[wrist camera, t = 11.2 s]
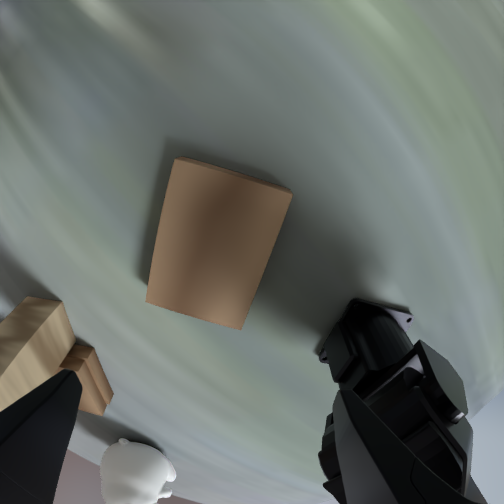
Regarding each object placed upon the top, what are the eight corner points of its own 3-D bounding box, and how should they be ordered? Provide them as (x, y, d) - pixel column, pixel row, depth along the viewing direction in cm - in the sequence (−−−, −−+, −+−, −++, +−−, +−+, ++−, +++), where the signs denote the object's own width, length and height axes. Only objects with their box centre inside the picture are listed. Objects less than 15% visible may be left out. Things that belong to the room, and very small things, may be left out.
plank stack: (94, 347, 23) (80, 370, 20) (114, 395, 26) (105, 416, 23) (-9, 322, 23) (-23, 336, 20) (13, 365, 26) (2, 380, 23)
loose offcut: (289, 189, 18) (293, 194, 16) (241, 317, 21) (241, 330, 20) (181, 156, 17) (174, 158, 15) (152, 290, 21) (145, 302, 19)
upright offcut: (62, 301, 21) (-12, 394, 10) (76, 340, 23) (19, 433, 12) (27, 296, 21) (-44, 374, 10) (41, 332, 23) (-17, 412, 12)
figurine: (96, 426, 30) (70, 493, 19) (152, 429, 29) (131, 511, 18) (132, 459, 34) (116, 519, 23) (186, 462, 33) (175, 531, 22)
